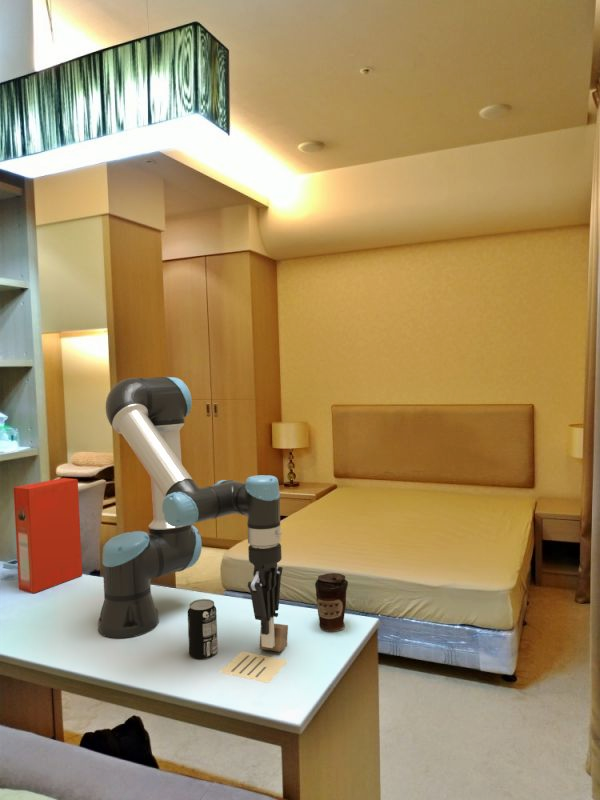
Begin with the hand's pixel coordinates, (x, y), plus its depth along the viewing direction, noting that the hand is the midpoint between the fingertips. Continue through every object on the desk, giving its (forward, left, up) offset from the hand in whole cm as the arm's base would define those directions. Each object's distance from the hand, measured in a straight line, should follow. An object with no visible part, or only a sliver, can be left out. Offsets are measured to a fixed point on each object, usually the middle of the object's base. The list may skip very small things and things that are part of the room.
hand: (268, 645), depth 131 cm
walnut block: (0, +3, -2) cm, 3 cm away
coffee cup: (+8, +20, -3) cm, 21 cm away
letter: (-1, -6, -3) cm, 6 cm away
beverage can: (-15, -5, -3) cm, 16 cm away
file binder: (-87, +18, -3) cm, 88 cm away
